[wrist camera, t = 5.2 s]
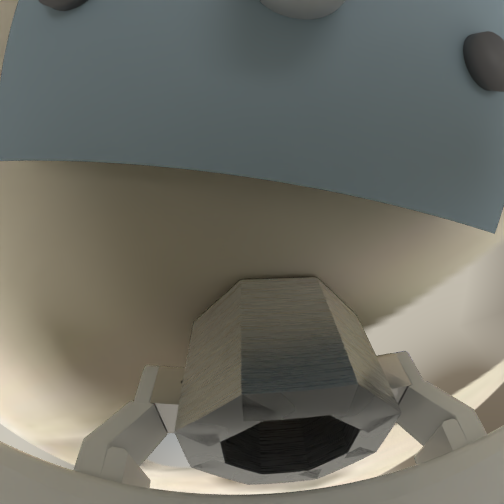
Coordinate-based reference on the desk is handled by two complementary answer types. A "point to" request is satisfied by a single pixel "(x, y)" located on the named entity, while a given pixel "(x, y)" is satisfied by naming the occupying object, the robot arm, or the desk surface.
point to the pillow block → (270, 93)
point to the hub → (281, 385)
